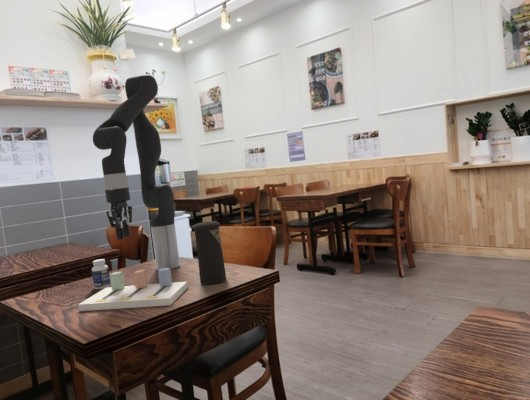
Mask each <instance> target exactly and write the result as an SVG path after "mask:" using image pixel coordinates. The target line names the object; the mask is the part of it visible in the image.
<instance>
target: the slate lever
mask: <svg viewBox="0 0 530 400" xmlns="http://www.w3.org/2000/svg"><path fill="white" fill-rule="evenodd" d="M171 270H172V269H170V268H161V269H160V270H157V276H158V282H159V283H158V284H160V286H169V285H171V284H172V283H173V278H172V277H173V276H172V271H171Z"/></svg>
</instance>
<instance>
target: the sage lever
mask: <svg viewBox="0 0 530 400" xmlns="http://www.w3.org/2000/svg"><path fill="white" fill-rule="evenodd" d="M109 277H110V287H112V290H119V289H122V288H124V287H125V286H126V282H125V275H124V271H122V270H121V271H115V272H112V273H109Z"/></svg>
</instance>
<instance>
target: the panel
mask: <svg viewBox="0 0 530 400" xmlns="http://www.w3.org/2000/svg"><path fill="white" fill-rule="evenodd" d="M148 284H149V283H148ZM187 289H189V283H188V281H176V282H172V284H171V285H169V286H160V284H159V283H150V284H149V285H148V286H146V287H145V288H136V287H135V284H133V285H125V287H124V288H122V289H119V290H112V287H111V286H109V287H107V288H104V289H100V290H99V291H97V292H96V293H95V294H93V295H91V296H90V297H88V298H87V299H84V300H83V301H82V302H80V303H78V304H77V306H78V311H79V312H87V311H89V312H90V311H102V310H118V309H120V310H121V309H131V308H133V309H134V308H135V309H136V308H146V307H147V308H148V307H162V306H171V305H172V304H173V303H174V302H175V301H176V300H178V299H179V297H180V296H182V294H184V293H185V291H186V290H187Z"/></svg>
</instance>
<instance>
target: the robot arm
mask: <svg viewBox="0 0 530 400" xmlns="http://www.w3.org/2000/svg"><path fill="white" fill-rule="evenodd" d="M124 90H125V95H126V100H125V101H123V102H122V103H120V105H118V106H117V107H116V108H115V110H114V111H113V113H112V114H111V115H110V117H109V118H108V119H106V120H105V121H104V122H102V124H100V125H99V126H98V127H97V128H96V129H95V130H94V132H93V135H92V142H93V145H94V146H95V147H96V148H97V149H98V150H102V151H103V150H106V151H107V150H110V153H109V155H107V156H105V157H103V158H102V159H101V168H102V175H103V186H104V193H105V200H106V201H105V202H106V203H107V204H110V210H107V211H106V212H105V213H106V216H107V219H108V222H109V225H110V228H111V229H115V233H116V234H115V235H116V239H117V241H119V240H125V238H129V237H130V236H131V232H130V231H131V229H130V224H131V223H132V222H133V206H132V205H131V206H130V205H129V206H128V203H127V202H128V201H130V200H131V196H130V187H129V181H128V176H127V172H126V165H125V158H126V157H125V156H126V147H127V140H128V139H127V135H126V132H128V130H129V129H130V127H131V126H132V125H133V131H134V138H135V144H136V145H135V146H136V151H137V157H138V162H139V163H138V164H139V171H140V172H139V173H140V189H141V198H142V202H143V205H144V206H145V207H146V208H147V209H158V212H157V214H156V215H155V216H154V217H153V218H151V219H150V221H149V223H150V229H151V236H152V244H153V253H154V259H155V267H156V270H157V271H158V270H160V269H161V268H170V269H171V270H172V269H176V268H178V267H180V266H181V262H180V254H179V247H178V240H177V239H178V238H177V230H176V225H175V216H176V211H175V209H176V208H175V197H174V192H173V189H172V188H171V187H172V186H170V185H168V184H166V183H164V184H157V183H156V170H157V166H158V163H159V161H160V158H161V153H162V143H161V136H160V133H159V131H158V130H157V127H155V125H154V124H153V123H152V122H151V120H150V119H149V118H148V116H147V114H146V113H145V110H144V109H145V108H146V106H147V105H148V104H149V103H151V101H153V100H154V99H155V98H156V96H157V94H158V92H159V87H158V82H157V80H156V78H155V76H152V75H151V74H141V75H136V76H131V77H128V78H127V79H125V83H124Z"/></svg>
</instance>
